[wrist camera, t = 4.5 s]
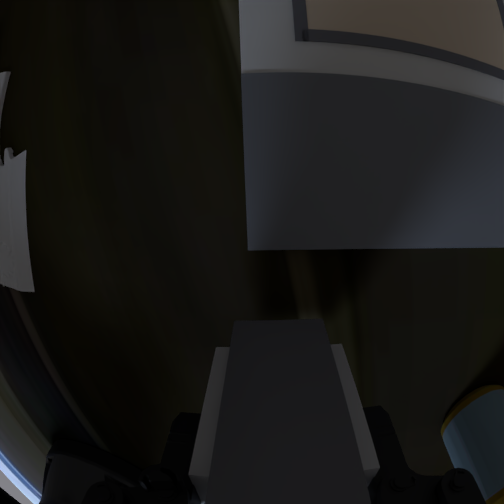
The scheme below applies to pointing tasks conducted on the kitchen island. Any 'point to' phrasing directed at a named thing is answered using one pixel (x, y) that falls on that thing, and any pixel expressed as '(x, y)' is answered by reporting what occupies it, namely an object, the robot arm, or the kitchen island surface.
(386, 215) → the board
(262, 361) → the two-tone square rod
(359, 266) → the kitchen island surface
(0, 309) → the kitchen island surface
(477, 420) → the bottle
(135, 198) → the kitchen island surface
